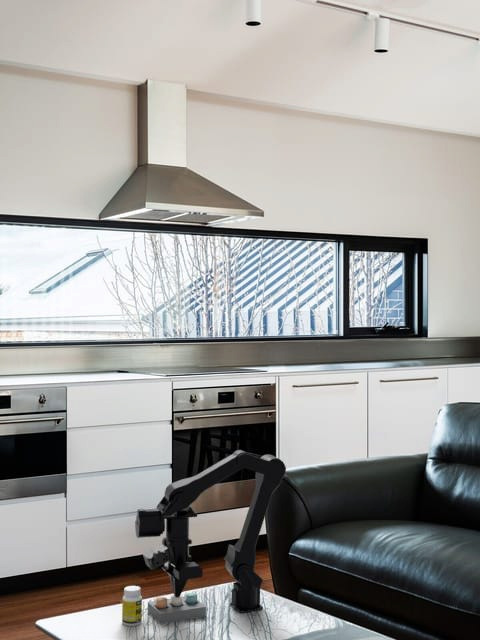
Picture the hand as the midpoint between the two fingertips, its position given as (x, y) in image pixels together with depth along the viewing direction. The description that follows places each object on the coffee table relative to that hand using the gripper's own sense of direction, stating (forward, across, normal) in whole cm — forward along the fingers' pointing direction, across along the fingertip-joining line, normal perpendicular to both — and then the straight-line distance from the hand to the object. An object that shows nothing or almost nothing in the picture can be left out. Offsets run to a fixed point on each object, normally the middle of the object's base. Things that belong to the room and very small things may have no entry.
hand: (177, 596), depth 214 cm
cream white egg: (+4, 0, 0) cm, 4 cm away
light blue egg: (+4, 0, +4) cm, 6 cm away
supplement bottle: (+4, +1, -12) cm, 13 cm away
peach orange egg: (+4, 0, -4) cm, 6 cm away
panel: (+4, 0, 0) cm, 4 cm away
